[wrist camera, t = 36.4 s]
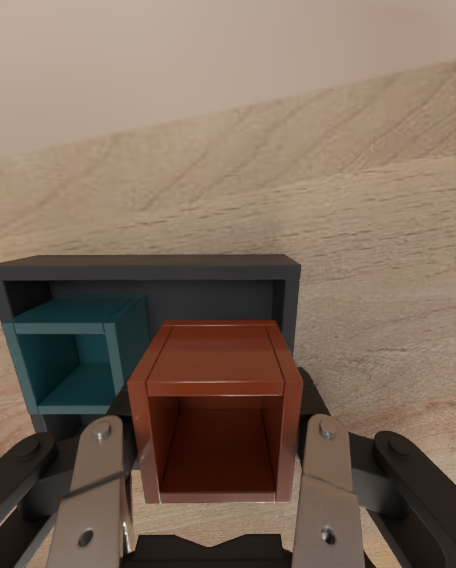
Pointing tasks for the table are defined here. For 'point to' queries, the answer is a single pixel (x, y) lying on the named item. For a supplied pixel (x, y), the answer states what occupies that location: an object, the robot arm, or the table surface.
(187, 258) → the tray
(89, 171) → the table surface
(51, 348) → the box teal
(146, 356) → the box brown
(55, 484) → the robot arm
